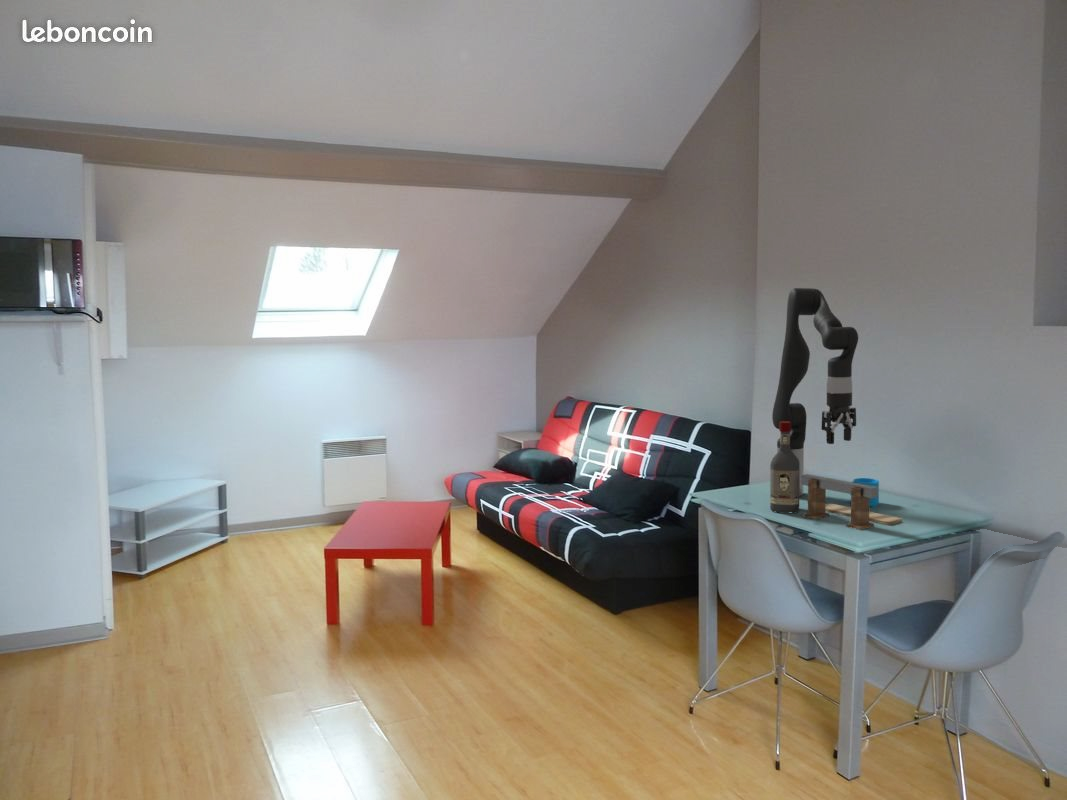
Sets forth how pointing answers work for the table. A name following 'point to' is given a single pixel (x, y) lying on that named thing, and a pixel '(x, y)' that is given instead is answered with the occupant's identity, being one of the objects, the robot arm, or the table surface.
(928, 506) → the table surface
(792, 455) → the liquor
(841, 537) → the table surface
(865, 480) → the mug
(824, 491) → the post
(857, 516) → the post
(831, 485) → the rail
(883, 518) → the mat
